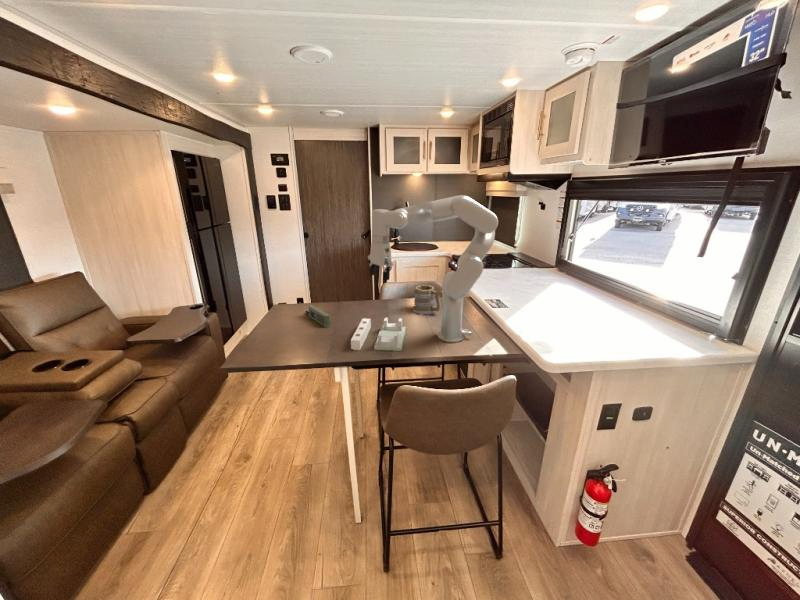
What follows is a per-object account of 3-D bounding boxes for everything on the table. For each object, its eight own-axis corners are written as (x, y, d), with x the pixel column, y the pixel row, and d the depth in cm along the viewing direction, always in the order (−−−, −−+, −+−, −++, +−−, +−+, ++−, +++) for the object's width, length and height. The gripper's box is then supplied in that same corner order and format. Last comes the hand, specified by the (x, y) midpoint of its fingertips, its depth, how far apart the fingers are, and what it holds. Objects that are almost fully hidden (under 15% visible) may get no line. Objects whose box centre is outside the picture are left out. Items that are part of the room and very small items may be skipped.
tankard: (408, 310, 180) (408, 285, 175) (423, 305, 188) (424, 281, 183) (434, 320, 166) (435, 294, 161) (449, 314, 174) (451, 288, 169)
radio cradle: (405, 329, 156) (405, 317, 154) (401, 351, 135) (401, 337, 133) (382, 328, 157) (381, 316, 155) (374, 349, 137) (373, 336, 134)
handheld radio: (325, 328, 158) (303, 314, 175) (331, 327, 160) (309, 313, 178) (324, 316, 156) (302, 303, 173) (330, 314, 158) (308, 302, 175)
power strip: (370, 327, 159) (370, 318, 157) (360, 350, 136) (359, 340, 135) (363, 327, 159) (362, 318, 157) (351, 350, 137) (350, 339, 135)
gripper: (399, 241, 130) (398, 281, 136) (375, 235, 142) (375, 272, 148) (385, 243, 125) (384, 283, 131) (361, 236, 137) (361, 274, 143)
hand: (379, 277), depth 139 cm, fingers open, 9 cm apart
